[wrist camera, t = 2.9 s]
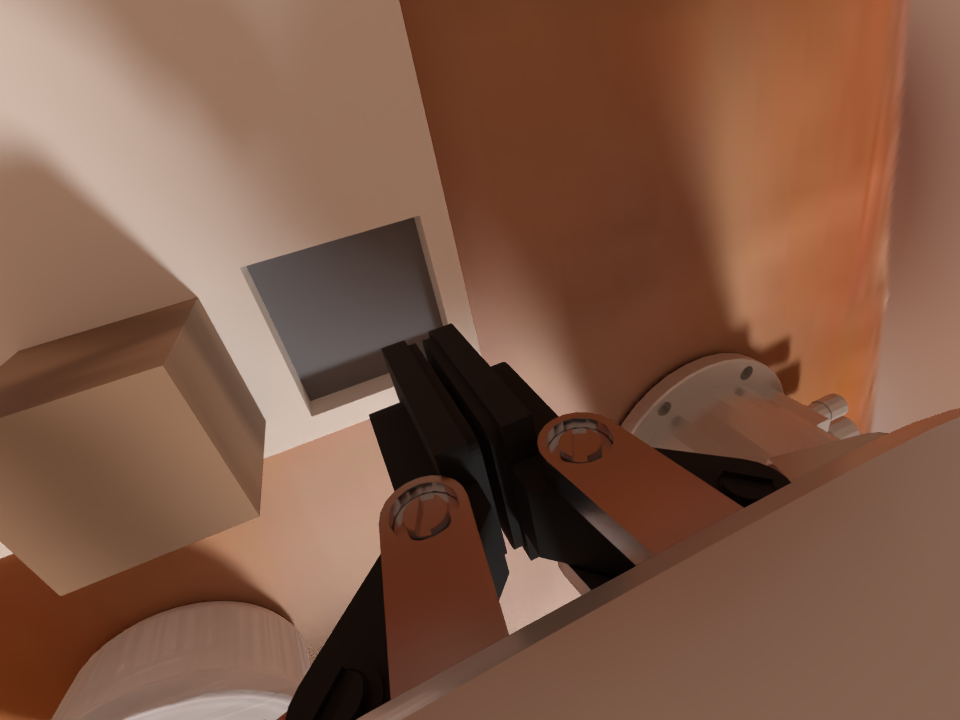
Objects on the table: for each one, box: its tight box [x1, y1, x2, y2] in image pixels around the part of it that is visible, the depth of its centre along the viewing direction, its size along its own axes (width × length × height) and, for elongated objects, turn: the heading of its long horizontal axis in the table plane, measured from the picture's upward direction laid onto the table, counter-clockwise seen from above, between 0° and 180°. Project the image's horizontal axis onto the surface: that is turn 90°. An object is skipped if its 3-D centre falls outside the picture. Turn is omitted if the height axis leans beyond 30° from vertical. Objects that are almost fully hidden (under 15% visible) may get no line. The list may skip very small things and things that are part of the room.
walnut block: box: [0, 297, 266, 596], centre depth 13 cm, size 5×5×5 cm
